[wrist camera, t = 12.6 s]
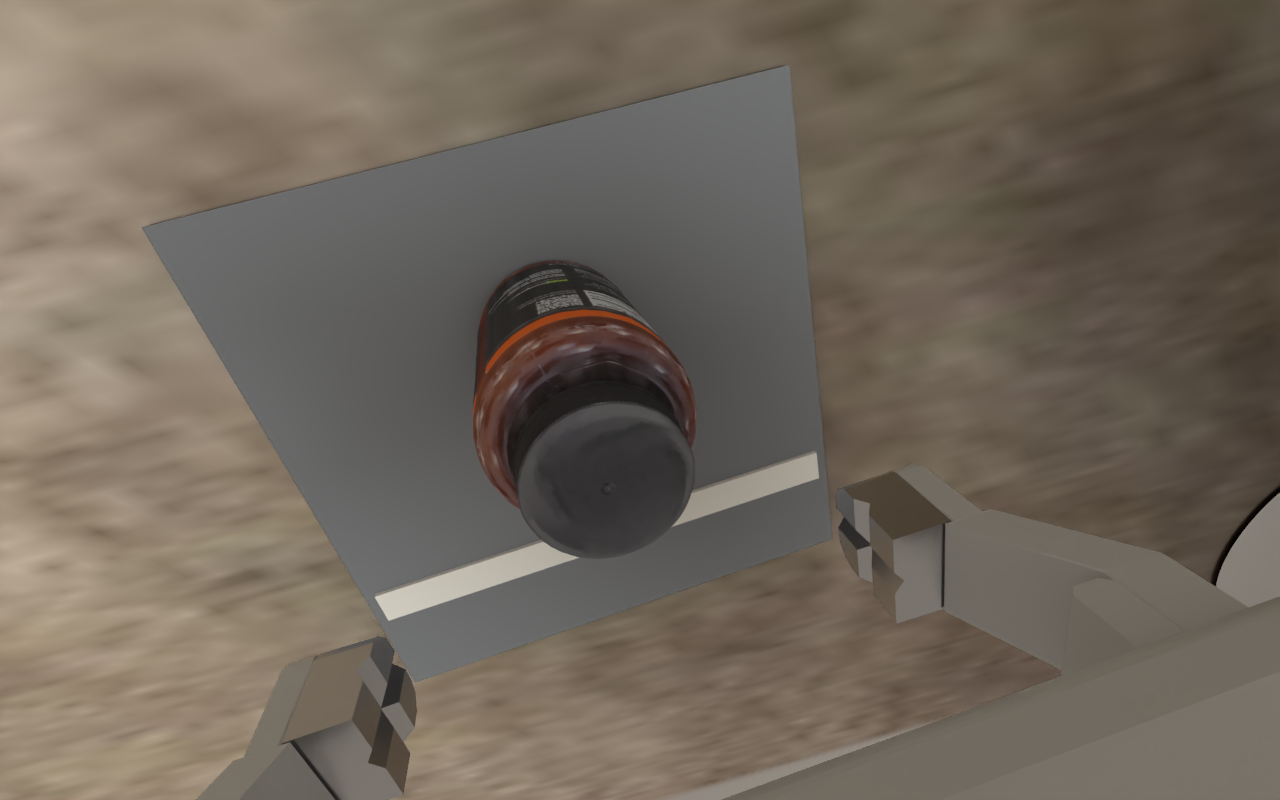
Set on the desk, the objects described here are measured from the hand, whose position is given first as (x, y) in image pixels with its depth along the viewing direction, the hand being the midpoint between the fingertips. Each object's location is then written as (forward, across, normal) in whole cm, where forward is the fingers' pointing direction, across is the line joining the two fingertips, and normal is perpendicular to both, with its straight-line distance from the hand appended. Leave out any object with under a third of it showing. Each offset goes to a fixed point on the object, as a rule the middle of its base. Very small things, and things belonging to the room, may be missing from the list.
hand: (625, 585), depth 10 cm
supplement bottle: (+14, 0, 0) cm, 14 cm away
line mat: (+14, -1, -4) cm, 15 cm away
